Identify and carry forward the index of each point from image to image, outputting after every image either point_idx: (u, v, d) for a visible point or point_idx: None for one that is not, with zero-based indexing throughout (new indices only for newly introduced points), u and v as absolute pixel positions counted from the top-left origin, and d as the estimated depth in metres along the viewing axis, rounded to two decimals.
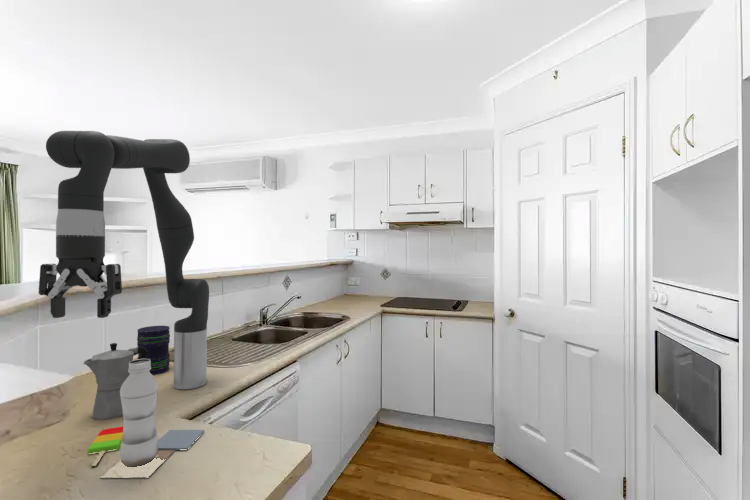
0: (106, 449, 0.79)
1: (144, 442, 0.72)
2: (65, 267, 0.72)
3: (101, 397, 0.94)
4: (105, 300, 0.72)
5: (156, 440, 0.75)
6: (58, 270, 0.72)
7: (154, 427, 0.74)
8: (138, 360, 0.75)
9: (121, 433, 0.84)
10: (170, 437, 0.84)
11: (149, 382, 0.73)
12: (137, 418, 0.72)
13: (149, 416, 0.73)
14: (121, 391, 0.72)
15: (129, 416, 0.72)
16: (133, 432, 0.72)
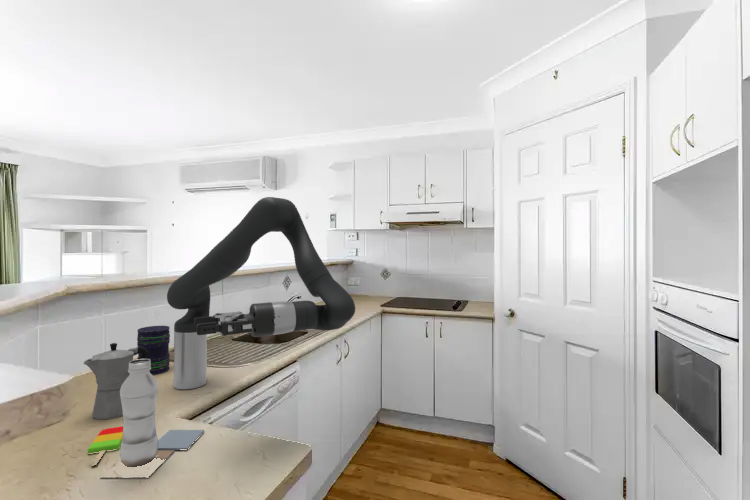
0: (106, 449, 0.79)
1: (144, 442, 0.72)
2: None
3: (101, 397, 0.94)
4: None
5: (156, 440, 0.75)
6: None
7: (154, 427, 0.74)
8: (138, 360, 0.75)
9: (121, 433, 0.84)
10: (170, 437, 0.84)
11: (149, 382, 0.73)
12: (137, 418, 0.72)
13: (149, 416, 0.73)
14: (121, 391, 0.72)
15: (129, 416, 0.72)
16: (133, 432, 0.72)
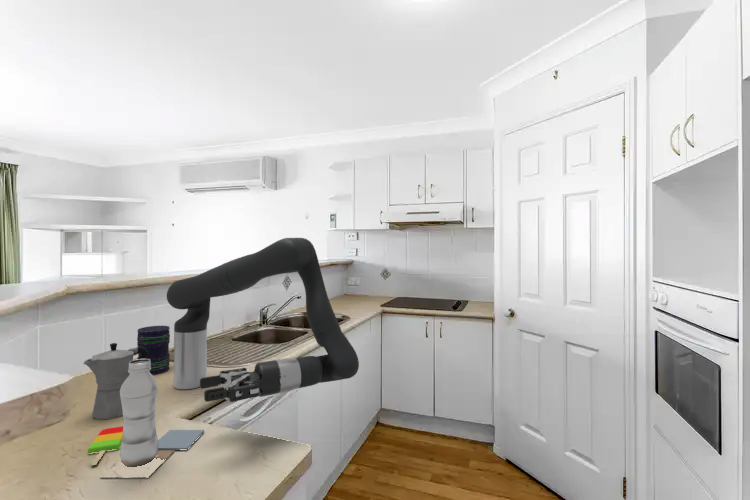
0: (106, 449, 0.79)
1: (144, 442, 0.72)
2: None
3: (101, 397, 0.94)
4: None
5: (156, 440, 0.75)
6: None
7: (154, 427, 0.74)
8: (138, 360, 0.75)
9: (121, 433, 0.84)
10: (170, 437, 0.84)
11: (149, 382, 0.73)
12: (137, 418, 0.72)
13: (149, 416, 0.73)
14: (121, 391, 0.72)
15: (129, 416, 0.72)
16: (133, 432, 0.72)
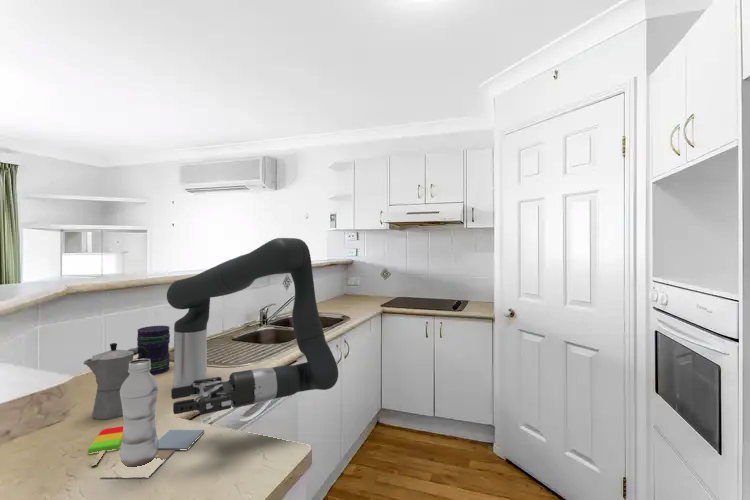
0: (106, 449, 0.79)
1: (144, 442, 0.72)
2: None
3: (101, 397, 0.94)
4: None
5: (156, 440, 0.75)
6: None
7: (154, 427, 0.74)
8: (138, 360, 0.75)
9: (121, 433, 0.84)
10: (170, 437, 0.84)
11: (149, 382, 0.73)
12: (137, 418, 0.72)
13: (149, 416, 0.73)
14: (121, 391, 0.72)
15: (129, 416, 0.72)
16: (133, 432, 0.72)
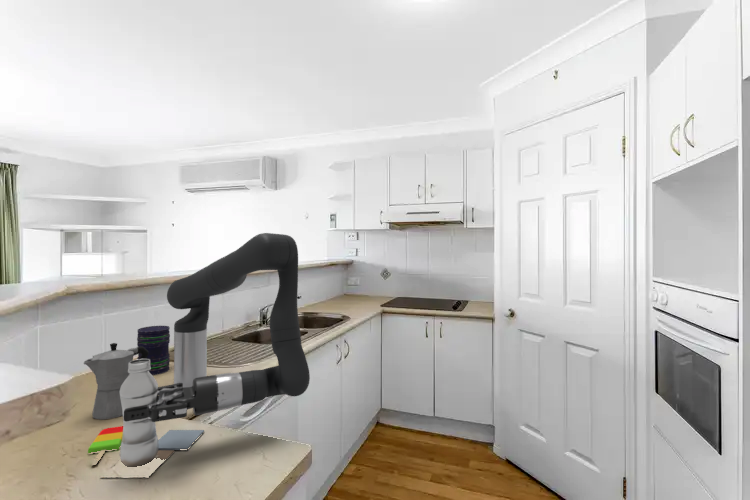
0: (106, 448, 0.79)
1: (144, 442, 0.72)
2: None
3: (101, 397, 0.94)
4: None
5: (156, 440, 0.75)
6: None
7: (153, 427, 0.74)
8: (138, 360, 0.75)
9: (122, 432, 0.84)
10: (170, 437, 0.84)
11: (148, 382, 0.73)
12: None
13: None
14: (121, 391, 0.72)
15: None
16: (133, 432, 0.72)
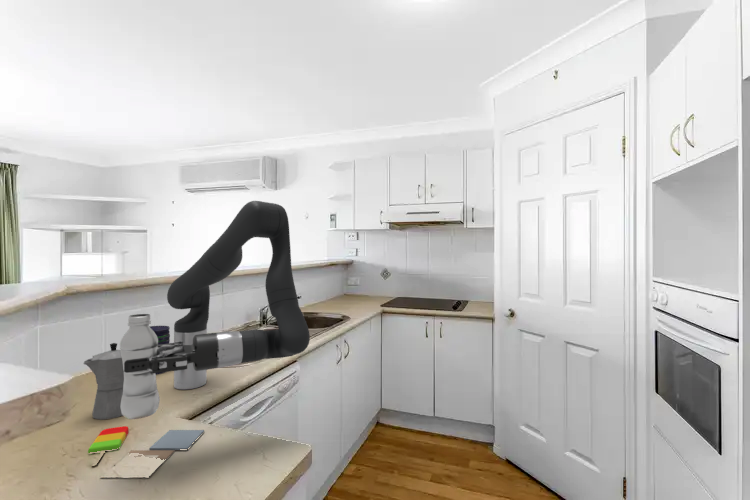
0: (106, 449, 0.79)
1: (145, 395, 0.72)
2: None
3: (101, 397, 0.94)
4: None
5: (157, 394, 0.75)
6: None
7: (154, 381, 0.74)
8: (138, 315, 0.75)
9: (122, 433, 0.84)
10: (170, 437, 0.84)
11: (149, 336, 0.73)
12: None
13: None
14: (121, 344, 0.72)
15: None
16: (134, 385, 0.72)
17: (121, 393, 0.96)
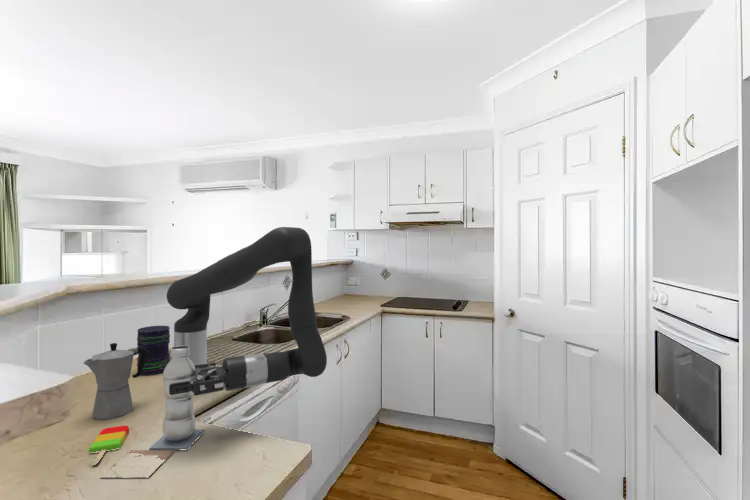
0: (107, 448, 0.79)
1: (184, 419, 0.82)
2: None
3: (101, 397, 0.94)
4: None
5: (194, 418, 0.84)
6: None
7: (192, 406, 0.84)
8: (178, 347, 0.85)
9: (122, 432, 0.84)
10: None
11: (188, 366, 0.83)
12: (178, 397, 0.81)
13: (188, 396, 0.83)
14: (165, 373, 0.81)
15: (171, 395, 0.81)
16: (175, 410, 0.81)
17: (121, 393, 0.96)
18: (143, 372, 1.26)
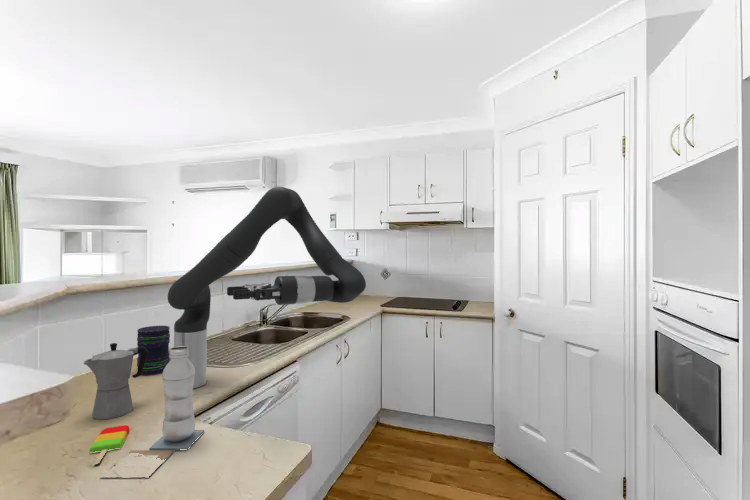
0: (108, 448, 0.79)
1: (184, 420, 0.81)
2: None
3: (101, 397, 0.94)
4: None
5: (193, 419, 0.84)
6: None
7: (191, 407, 0.83)
8: (177, 347, 0.85)
9: (123, 432, 0.84)
10: None
11: (187, 367, 0.82)
12: (178, 398, 0.81)
13: (188, 397, 0.83)
14: (164, 374, 0.81)
15: (171, 396, 0.81)
16: (175, 411, 0.81)
17: (121, 393, 0.96)
18: (143, 372, 1.26)
